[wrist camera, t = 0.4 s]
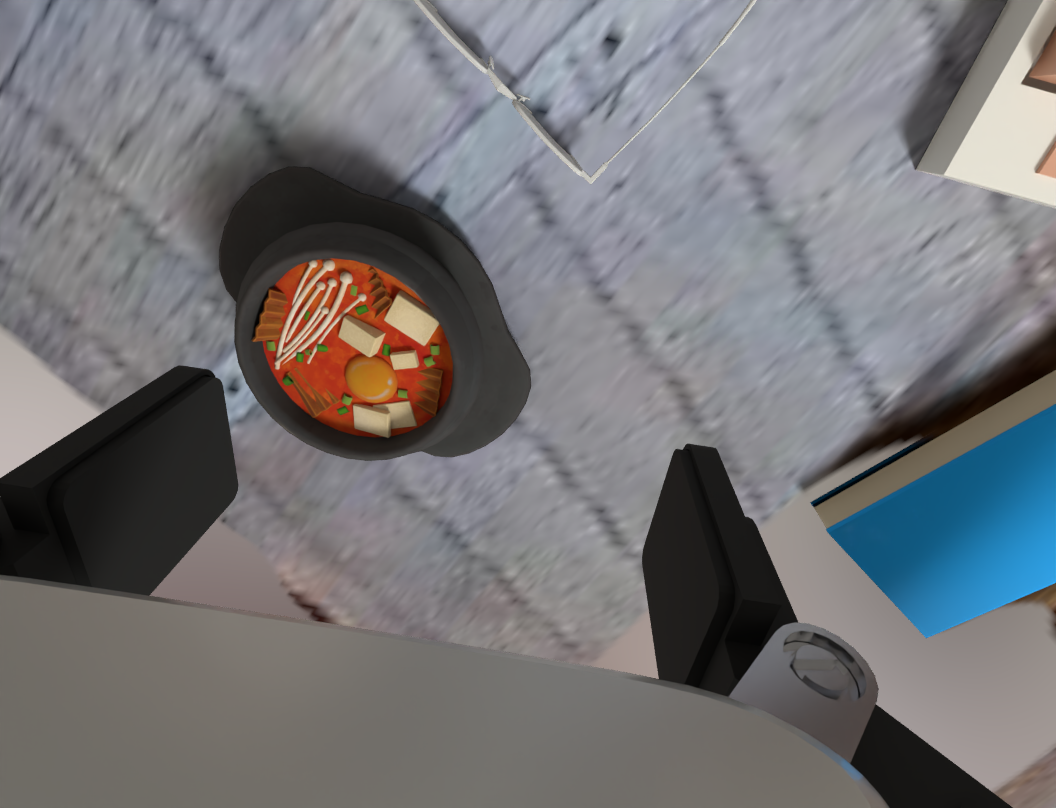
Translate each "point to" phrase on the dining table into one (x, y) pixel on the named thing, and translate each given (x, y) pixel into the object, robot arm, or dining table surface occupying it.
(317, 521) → the dining table surface
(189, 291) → the dining table surface
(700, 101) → the dining table surface
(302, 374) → the casserole
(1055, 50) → the key terracotta
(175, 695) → the robot arm
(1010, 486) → the book
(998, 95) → the keypad
